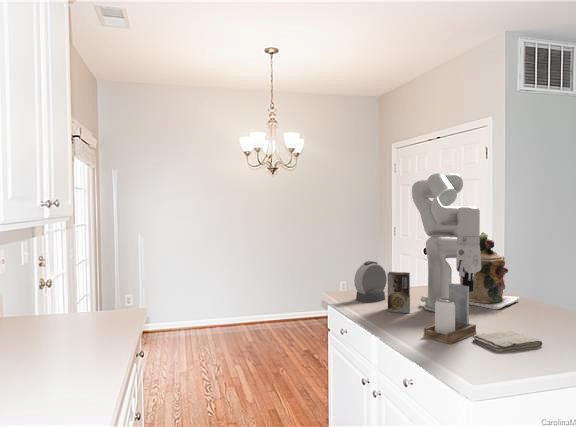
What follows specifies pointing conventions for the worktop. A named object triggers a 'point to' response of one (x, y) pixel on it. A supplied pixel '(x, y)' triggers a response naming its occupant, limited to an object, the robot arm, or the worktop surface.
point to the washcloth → (506, 341)
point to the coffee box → (398, 292)
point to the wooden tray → (450, 334)
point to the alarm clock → (370, 282)
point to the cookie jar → (489, 279)
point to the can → (444, 316)
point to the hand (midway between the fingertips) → (467, 290)
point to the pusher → (460, 304)
